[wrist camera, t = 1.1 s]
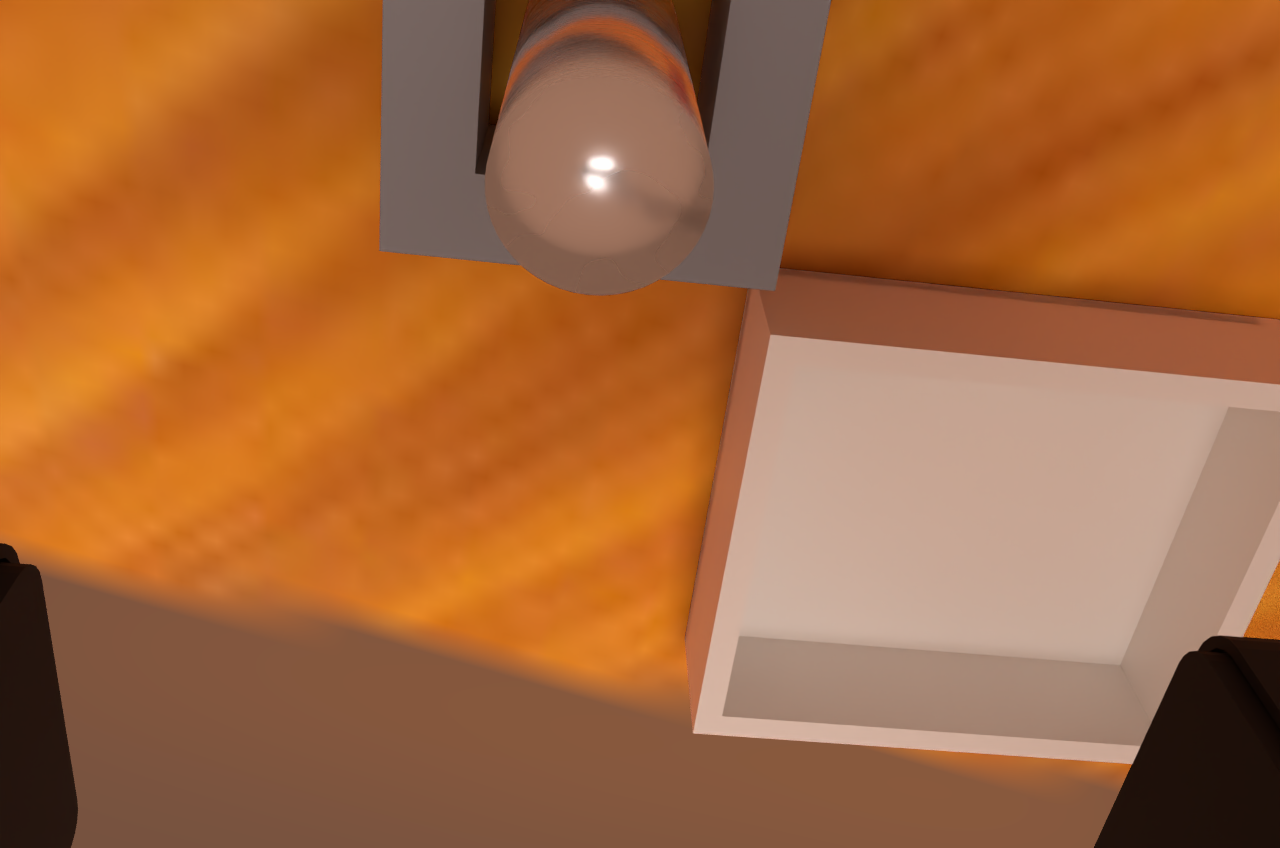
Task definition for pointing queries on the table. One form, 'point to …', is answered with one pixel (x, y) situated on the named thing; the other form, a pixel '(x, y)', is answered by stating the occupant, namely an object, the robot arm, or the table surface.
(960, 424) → the tray
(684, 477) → the table surface
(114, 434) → the table surface
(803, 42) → the block
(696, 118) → the pin
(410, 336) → the table surface
